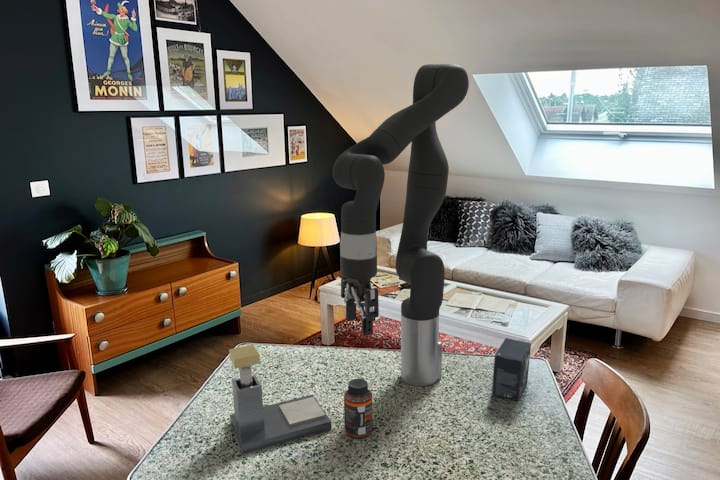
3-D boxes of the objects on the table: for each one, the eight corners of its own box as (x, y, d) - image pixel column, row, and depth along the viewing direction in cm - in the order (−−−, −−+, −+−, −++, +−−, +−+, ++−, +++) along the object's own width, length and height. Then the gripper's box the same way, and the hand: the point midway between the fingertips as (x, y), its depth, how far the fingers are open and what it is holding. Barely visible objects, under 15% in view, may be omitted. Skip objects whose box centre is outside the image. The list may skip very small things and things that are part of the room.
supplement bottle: (370, 441, 113) (369, 391, 110) (341, 438, 114) (340, 389, 111) (375, 424, 118) (374, 377, 115) (348, 421, 119) (346, 374, 117)
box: (519, 402, 126) (521, 360, 123) (490, 395, 129) (492, 354, 126) (529, 381, 135) (531, 342, 132) (502, 375, 138) (504, 337, 135)
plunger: (257, 396, 117) (253, 344, 114) (263, 407, 113) (259, 354, 110) (233, 401, 115) (229, 349, 112) (238, 413, 111) (234, 359, 108)
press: (312, 402, 127) (310, 355, 124) (331, 429, 117) (329, 378, 114) (230, 423, 120) (226, 373, 117) (242, 454, 109) (238, 400, 106)
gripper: (390, 259, 107) (390, 336, 111) (361, 243, 119) (361, 312, 123) (355, 264, 104) (355, 343, 108) (329, 246, 117) (330, 318, 121)
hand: (358, 326), depth 116 cm, fingers open, 8 cm apart
